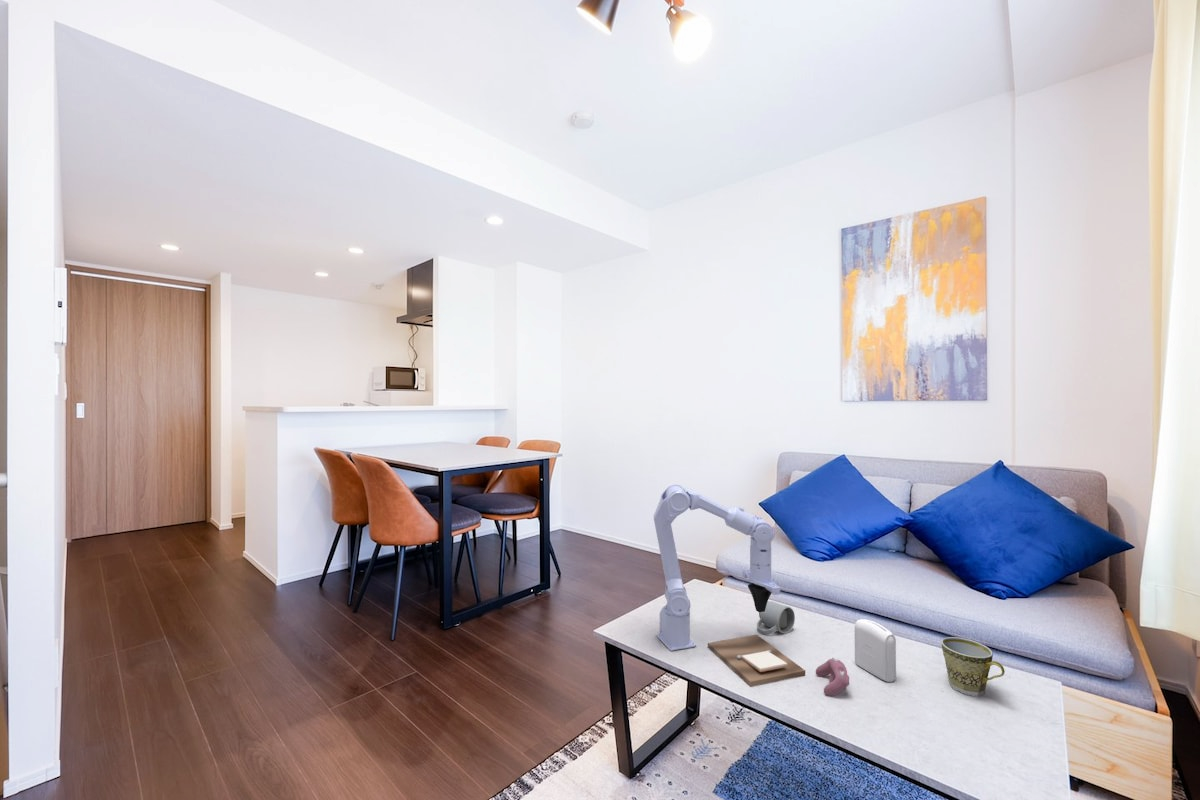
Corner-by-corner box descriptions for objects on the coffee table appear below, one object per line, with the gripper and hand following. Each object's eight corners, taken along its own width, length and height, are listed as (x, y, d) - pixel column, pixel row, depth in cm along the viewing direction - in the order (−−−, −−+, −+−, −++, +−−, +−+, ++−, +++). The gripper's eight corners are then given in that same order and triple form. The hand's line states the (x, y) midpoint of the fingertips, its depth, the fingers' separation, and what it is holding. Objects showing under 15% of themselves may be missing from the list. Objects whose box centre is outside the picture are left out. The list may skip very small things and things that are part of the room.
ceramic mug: (772, 620, 157) (772, 595, 157) (795, 630, 151) (795, 604, 150) (750, 629, 152) (749, 603, 151) (772, 640, 145) (772, 613, 145)
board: (707, 647, 140) (707, 642, 140) (756, 638, 145) (756, 634, 145) (750, 686, 121) (750, 681, 121) (805, 675, 126) (805, 670, 126)
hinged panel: (756, 669, 124) (756, 672, 124) (790, 662, 127) (791, 666, 127) (736, 655, 132) (736, 658, 132) (769, 649, 135) (769, 652, 135)
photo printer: (851, 663, 132) (851, 616, 132) (864, 660, 134) (864, 613, 133) (886, 684, 122) (886, 633, 122) (899, 680, 124) (899, 630, 124)
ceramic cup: (931, 682, 123) (931, 641, 123) (957, 673, 127) (957, 633, 127) (990, 712, 111) (990, 667, 111) (1017, 701, 115) (1017, 658, 115)
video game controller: (841, 705, 117) (856, 679, 116) (822, 694, 117) (837, 669, 117) (830, 681, 126) (844, 658, 126) (813, 671, 127) (826, 648, 126)
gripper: (789, 569, 136) (789, 619, 136) (757, 553, 150) (756, 599, 150) (767, 572, 134) (767, 623, 134) (736, 556, 148) (736, 602, 148)
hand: (760, 610), depth 142 cm, fingers closed
